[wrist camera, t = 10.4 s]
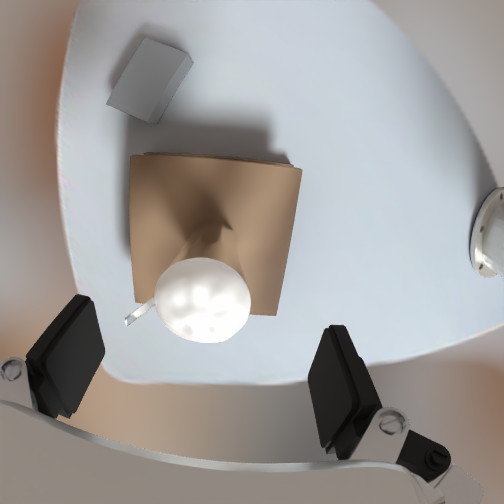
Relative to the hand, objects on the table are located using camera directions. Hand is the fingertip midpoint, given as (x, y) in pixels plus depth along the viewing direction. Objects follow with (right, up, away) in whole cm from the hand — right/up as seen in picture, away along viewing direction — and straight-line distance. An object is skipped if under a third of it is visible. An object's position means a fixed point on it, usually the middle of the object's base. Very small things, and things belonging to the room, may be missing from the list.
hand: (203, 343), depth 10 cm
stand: (-2, +6, +13) cm, 15 cm away
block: (-6, +17, +8) cm, 20 cm away
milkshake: (-1, +4, +10) cm, 11 cm away
